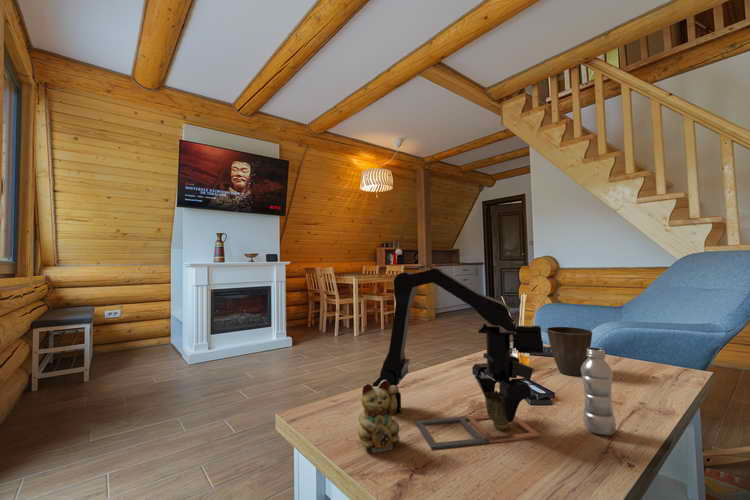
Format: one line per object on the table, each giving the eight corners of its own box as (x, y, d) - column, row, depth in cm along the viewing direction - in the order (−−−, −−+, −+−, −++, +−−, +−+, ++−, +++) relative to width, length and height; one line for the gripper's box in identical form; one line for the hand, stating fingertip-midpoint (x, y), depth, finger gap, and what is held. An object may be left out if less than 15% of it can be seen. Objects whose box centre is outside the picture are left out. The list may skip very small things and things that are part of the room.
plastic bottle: (617, 442, 78) (613, 353, 79) (583, 434, 81) (579, 350, 82) (615, 430, 83) (611, 347, 84) (583, 423, 87) (579, 344, 88)
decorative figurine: (365, 458, 72) (364, 387, 73) (352, 440, 80) (351, 376, 81) (404, 448, 76) (403, 381, 77) (388, 432, 84) (387, 371, 85)
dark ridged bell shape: (519, 436, 81) (518, 402, 81) (487, 434, 82) (486, 400, 83) (513, 422, 88) (512, 391, 88) (483, 420, 89) (483, 389, 90)
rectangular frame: (431, 449, 76) (431, 446, 76) (415, 423, 88) (415, 420, 88) (540, 437, 80) (540, 435, 80) (510, 414, 93) (510, 411, 93)
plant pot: (551, 365, 137) (550, 325, 138) (595, 371, 129) (593, 328, 129) (545, 374, 125) (543, 331, 126) (593, 382, 116) (590, 335, 117)
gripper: (551, 358, 78) (554, 427, 78) (507, 341, 97) (509, 396, 96) (507, 361, 77) (509, 432, 76) (470, 343, 95) (472, 400, 94)
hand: (500, 413), depth 86 cm, fingers open, 9 cm apart
